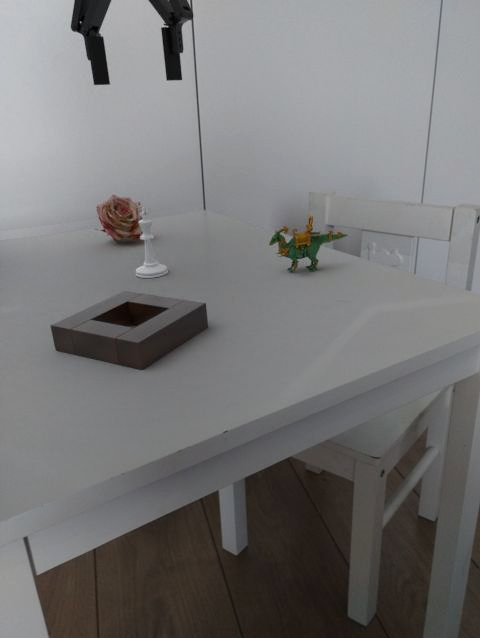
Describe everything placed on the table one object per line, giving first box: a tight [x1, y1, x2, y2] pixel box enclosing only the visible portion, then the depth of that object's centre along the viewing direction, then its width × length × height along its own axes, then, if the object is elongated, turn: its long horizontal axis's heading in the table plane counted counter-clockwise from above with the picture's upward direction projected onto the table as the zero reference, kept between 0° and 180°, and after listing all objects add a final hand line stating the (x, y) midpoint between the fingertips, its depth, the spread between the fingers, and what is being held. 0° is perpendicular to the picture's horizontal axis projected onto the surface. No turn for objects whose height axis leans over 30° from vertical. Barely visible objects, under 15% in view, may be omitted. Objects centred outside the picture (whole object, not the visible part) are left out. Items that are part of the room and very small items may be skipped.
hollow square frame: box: [50, 290, 209, 371], centre depth 64 cm, size 12×12×3 cm
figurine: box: [268, 214, 349, 274], centre depth 84 cm, size 3×12×8 cm, turn 100°
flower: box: [94, 194, 143, 246], centre depth 107 cm, size 10×9×8 cm
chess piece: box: [135, 206, 169, 279], centre depth 86 cm, size 5×5×10 cm
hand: (137, 83), depth 84 cm, fingers open, 13 cm apart
